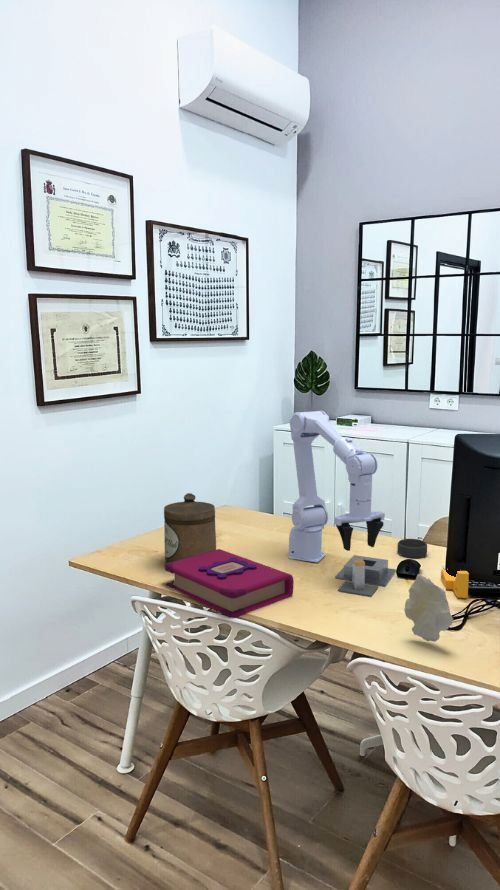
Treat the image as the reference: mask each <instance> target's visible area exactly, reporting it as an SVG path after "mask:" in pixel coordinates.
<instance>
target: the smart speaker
mask: <svg viewBox="0 0 500 890" xmlns="http://www.w3.org/2000/svg"><path fill="white" fill-rule="evenodd" d="M397 553H398V554H399V555H400V556H401V555H402V556H401V557H404V558H408V557H409V559H421V558H424V557H426V556H427V553H428V544H427V543H426V542H425V541H423V540H421V539H417V538H403V539H401V540H399V541H398V542H397Z"/></svg>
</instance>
